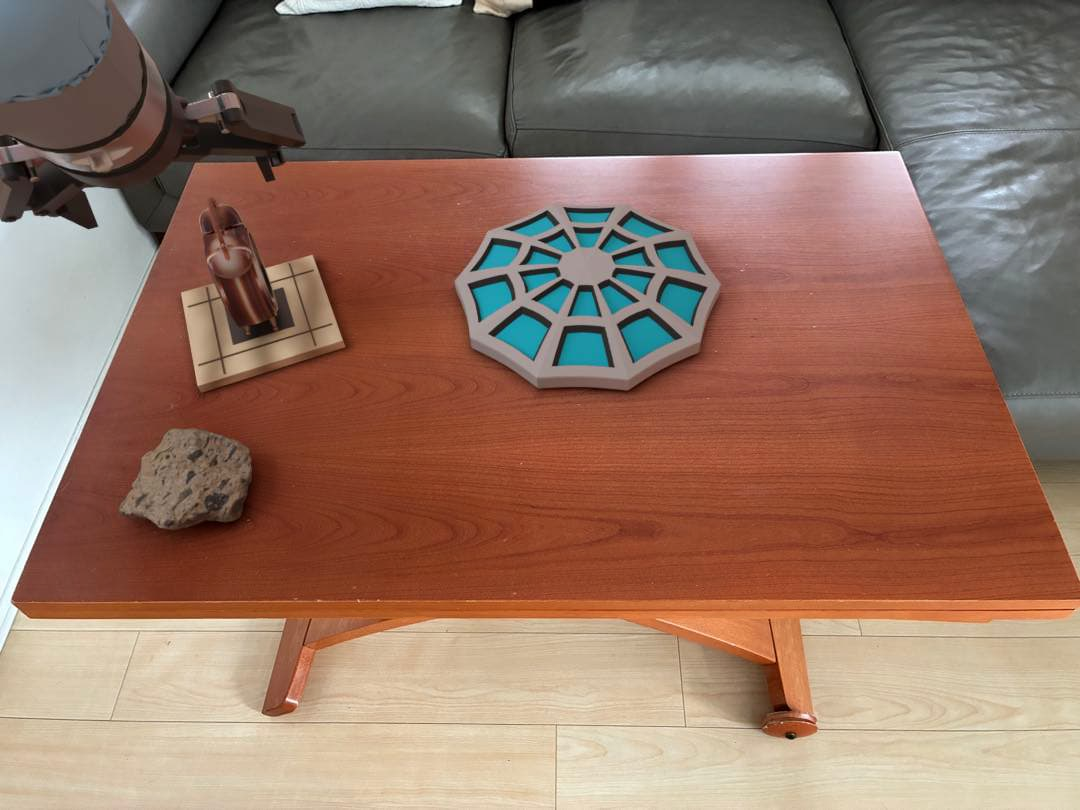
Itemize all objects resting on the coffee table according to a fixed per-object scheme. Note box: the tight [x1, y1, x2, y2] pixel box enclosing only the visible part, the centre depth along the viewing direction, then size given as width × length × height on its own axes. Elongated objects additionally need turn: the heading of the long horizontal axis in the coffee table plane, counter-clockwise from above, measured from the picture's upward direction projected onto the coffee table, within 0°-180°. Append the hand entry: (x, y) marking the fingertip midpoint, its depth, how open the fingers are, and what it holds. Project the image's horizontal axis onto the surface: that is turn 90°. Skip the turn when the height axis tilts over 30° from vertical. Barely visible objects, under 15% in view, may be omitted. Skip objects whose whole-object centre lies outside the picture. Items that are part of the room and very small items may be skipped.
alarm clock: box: [198, 197, 278, 335], centre depth 83 cm, size 11×5×15 cm, turn 23°
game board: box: [180, 254, 346, 394], centre depth 89 cm, size 16×16×1 cm
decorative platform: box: [454, 203, 722, 392], centre depth 88 cm, size 31×29×5 cm
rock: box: [118, 427, 253, 531], centre depth 73 cm, size 11×11×4 cm
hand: (178, 187), depth 60 cm, fingers open, 13 cm apart
